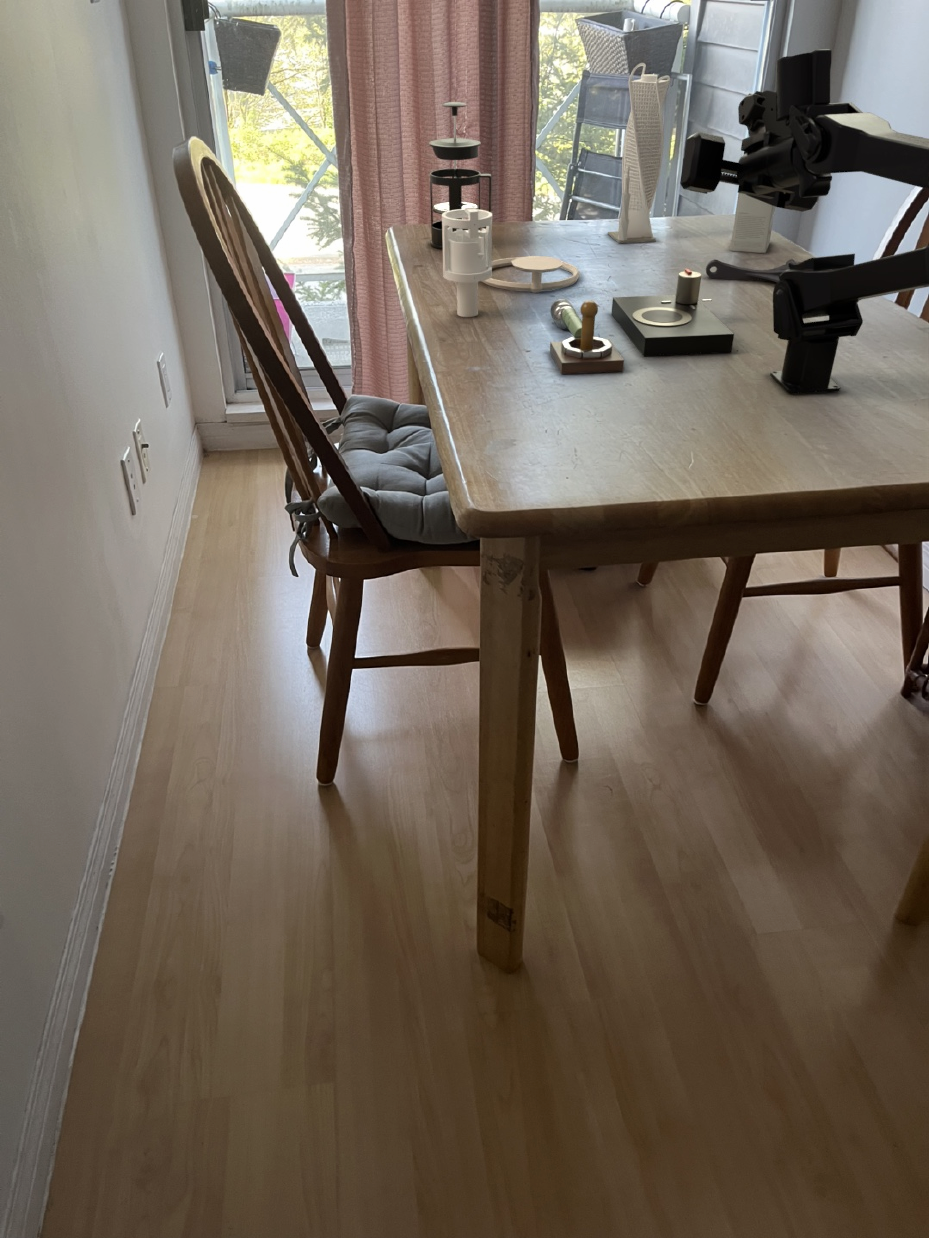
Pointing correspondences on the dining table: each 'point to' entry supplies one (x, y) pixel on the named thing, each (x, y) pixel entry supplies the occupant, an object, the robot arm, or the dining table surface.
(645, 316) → the burner
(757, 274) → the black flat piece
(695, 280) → the burner knob
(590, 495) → the dining table surface
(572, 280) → the hand towel holder
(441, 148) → the french press
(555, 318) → the green handled ring tool
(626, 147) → the skyscraper
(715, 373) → the dining table surface
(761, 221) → the small box
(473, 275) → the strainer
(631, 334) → the stove
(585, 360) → the peg stand
